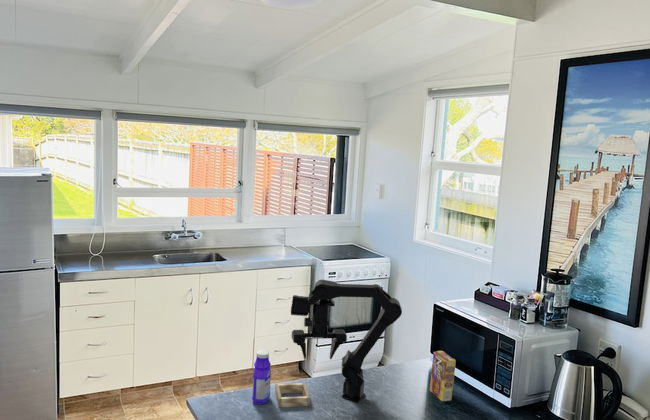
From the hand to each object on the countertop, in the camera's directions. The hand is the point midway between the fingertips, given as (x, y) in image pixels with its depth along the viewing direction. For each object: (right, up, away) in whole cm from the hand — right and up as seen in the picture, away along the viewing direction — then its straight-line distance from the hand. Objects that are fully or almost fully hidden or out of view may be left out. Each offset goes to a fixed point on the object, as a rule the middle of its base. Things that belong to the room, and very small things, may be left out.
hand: (317, 359), depth 195 cm
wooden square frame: (-9, -13, -3) cm, 16 cm away
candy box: (+45, -15, +6) cm, 47 cm away
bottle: (-19, -13, -5) cm, 24 cm away
